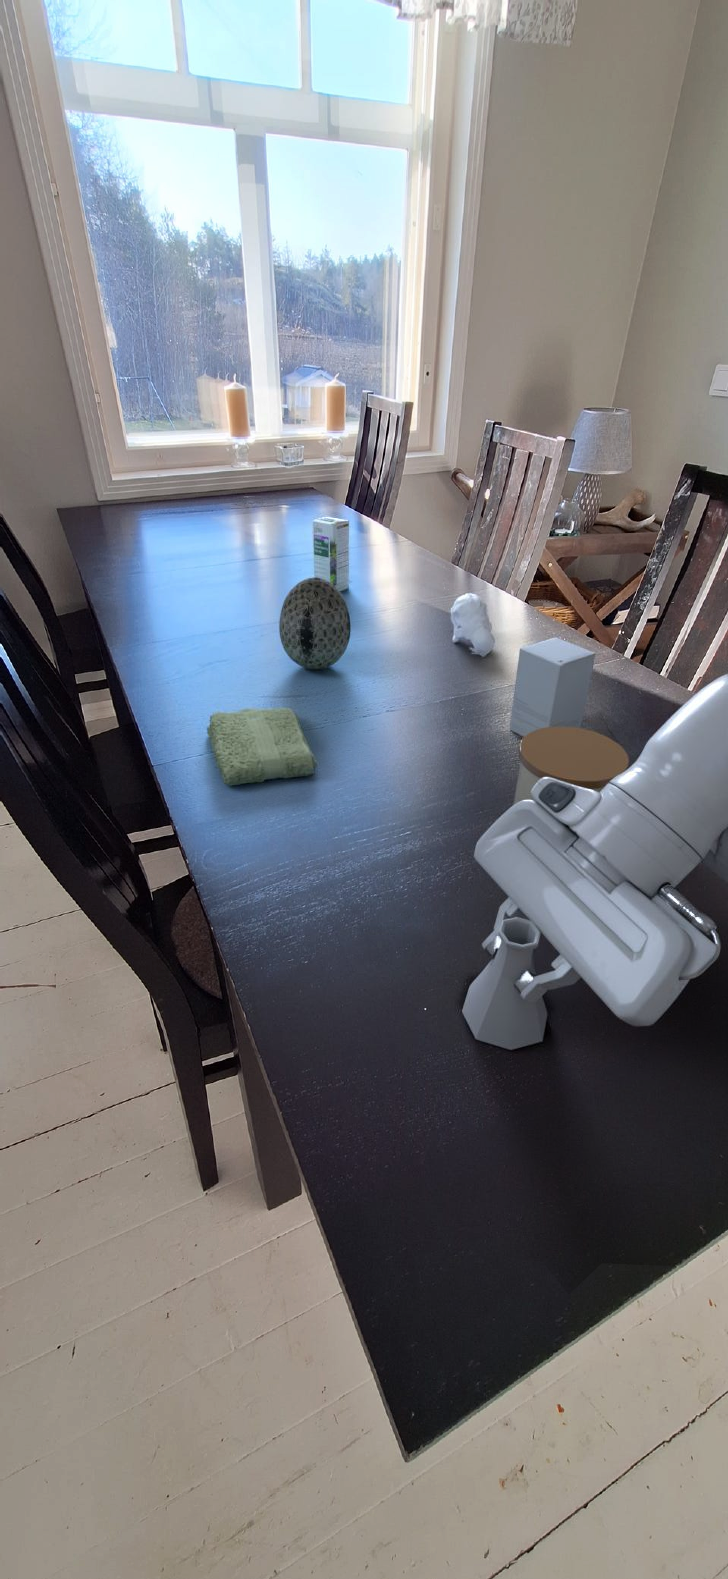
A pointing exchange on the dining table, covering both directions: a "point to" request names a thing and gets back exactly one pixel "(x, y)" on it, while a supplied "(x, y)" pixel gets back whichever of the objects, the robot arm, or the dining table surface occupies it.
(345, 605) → the decorative egg
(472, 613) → the white bust
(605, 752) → the canister
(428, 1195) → the dining table surface
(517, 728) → the white packaging box
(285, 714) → the washcloth
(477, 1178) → the dining table surface
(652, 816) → the robot arm
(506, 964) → the flask
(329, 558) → the syrup box
